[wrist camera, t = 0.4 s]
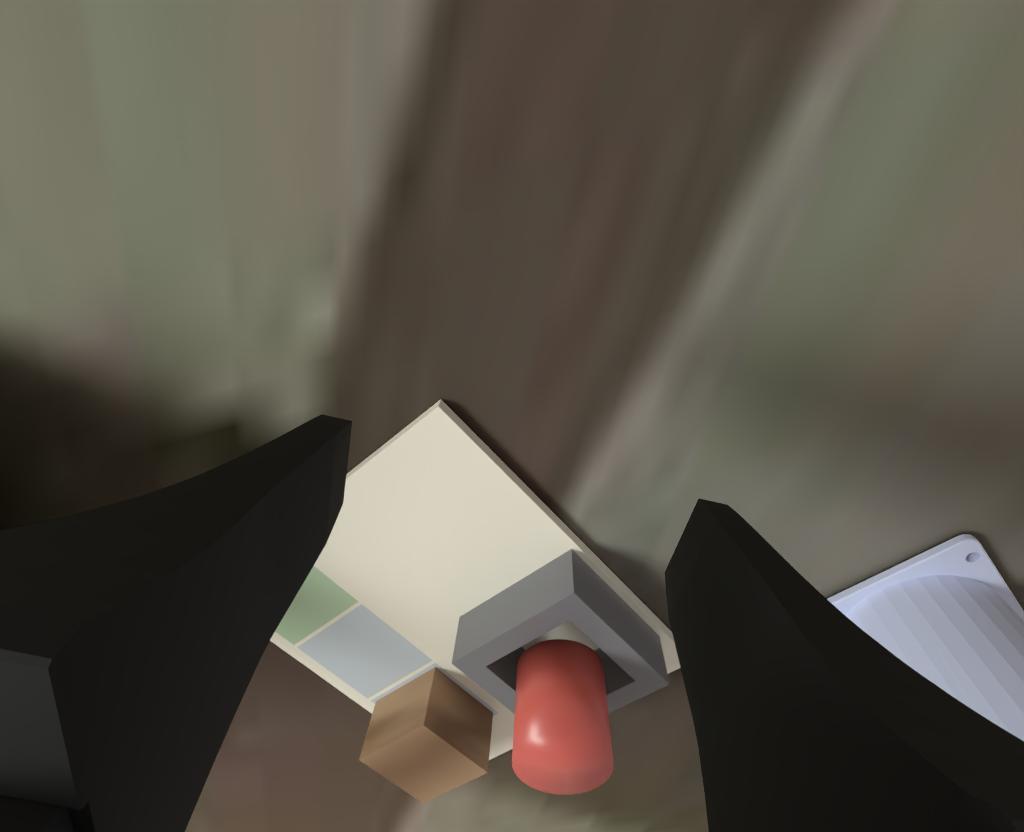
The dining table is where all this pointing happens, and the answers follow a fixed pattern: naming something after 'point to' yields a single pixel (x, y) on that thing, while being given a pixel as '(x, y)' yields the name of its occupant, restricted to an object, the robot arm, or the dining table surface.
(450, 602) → the board
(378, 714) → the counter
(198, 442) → the dining table surface
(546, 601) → the dome collar
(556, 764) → the dome button
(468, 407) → the dining table surface
